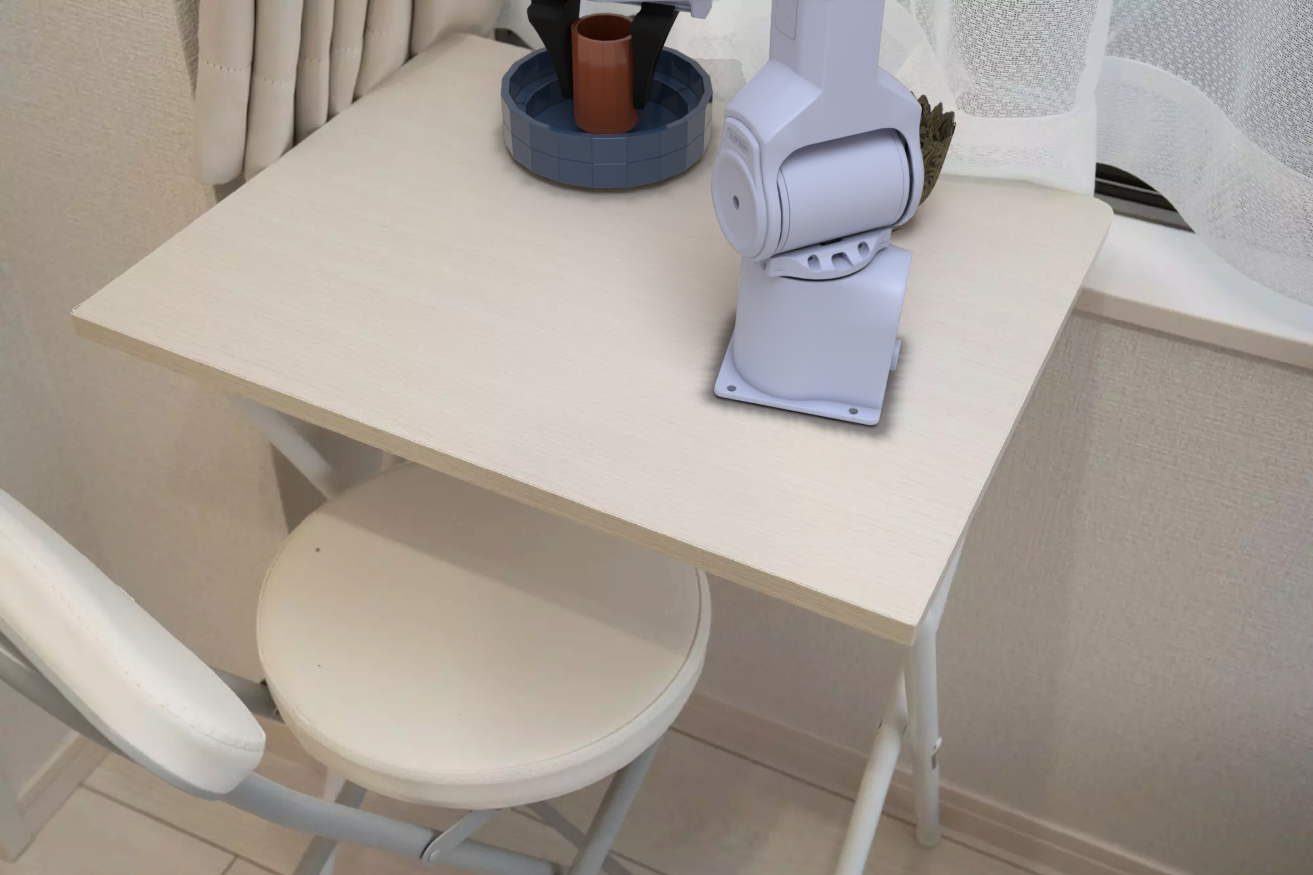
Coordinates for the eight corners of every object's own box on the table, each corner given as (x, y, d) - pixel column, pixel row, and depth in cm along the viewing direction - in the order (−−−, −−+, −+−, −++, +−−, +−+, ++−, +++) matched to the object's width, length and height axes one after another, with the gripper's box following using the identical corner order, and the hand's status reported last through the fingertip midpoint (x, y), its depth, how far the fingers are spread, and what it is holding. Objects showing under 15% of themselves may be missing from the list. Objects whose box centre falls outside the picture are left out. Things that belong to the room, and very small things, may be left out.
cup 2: (913, 264, 78) (936, 156, 72) (809, 233, 80) (823, 126, 74) (947, 208, 82) (970, 103, 77) (848, 181, 85) (863, 77, 79)
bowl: (728, 107, 92) (732, 52, 89) (681, 210, 82) (683, 152, 78) (543, 80, 95) (541, 26, 92) (475, 176, 84) (469, 119, 81)
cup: (646, 108, 88) (647, 17, 83) (628, 139, 85) (629, 47, 80) (585, 99, 89) (582, 9, 84) (565, 129, 86) (561, 37, 81)
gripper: (727, -105, 78) (716, 86, 87) (519, -128, 80) (530, 59, 90) (702, -65, 73) (693, 132, 82) (482, -92, 76) (498, 103, 85)
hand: (606, 97), depth 86 cm, fingers closed on cup, 5 cm apart
